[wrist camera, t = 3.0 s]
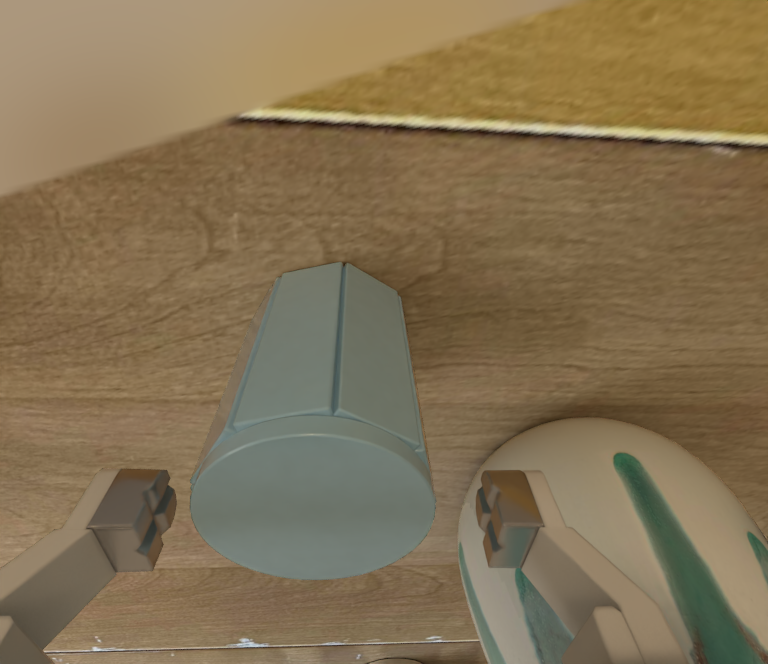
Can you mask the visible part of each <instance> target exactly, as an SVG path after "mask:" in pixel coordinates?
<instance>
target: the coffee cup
mask: <svg viewBox="0 0 768 664" xmlns="http://www.w3.org/2000/svg"><path fill="white" fill-rule="evenodd" d="M368 664H422V663H420V662H418V661H414V660H409V659H384V660H378V661H374V662H371V663H368Z"/></svg>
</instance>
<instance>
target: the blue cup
mask: <svg viewBox="0 0 768 664" xmlns="http://www.w3.org/2000/svg"><path fill="white" fill-rule="evenodd" d="M190 483H191V484H192V485H191V491H192V493H191V496H190V512H191V517H192V521H193V523H194V525H195V528H196V530H197V531H198V533H199V534H200V536H201V537H202V538H203V539H204V540H205V541H206V543H207V544H208V545H209V546H210V547H212V548H213V549H214V550H215V551H216V552H218V553H219V554H221V555H222V556H224V557H225V558H227V559H229V560H231V561H233V562H234V563H236V564H238V565H241V566H243V567H246V568H248V569H251V570H254V571H257V572H260V573H263V574H268V575H272V576H276V577H283V578H289V579H300V580H331V579H340V578H347V577H352V576H358V575H361V574H365V573H369V572H372V571H375V570H378V569H381V568H383V567H386V566H388V565H390V564H392V563H394V562H396V561H398V560H399V559H401V558H403V557H404V556H406V555H407V554H409V553H410V552H411V551H413V550H414V549H415V548H416V547H417V546H418V545H419V544H420V543H421V542H422V541H423V539H424V538H425V537H426V536H427V534H428V532H429V530H430V528H431V526H432V523H433V520H434V517H435V509H436V505H435V504H436V496H435V490H434V484H433V478H432V472H431V466H430V460H429V454H428V448H427V442H426V436H425V430H424V424H423V418H422V412H421V406H420V400H419V394H418V388H417V382H416V376H415V370H414V364H413V358H412V352H411V346H410V340H409V335H408V330H407V325H406V320H405V315H404V310H403V305H402V300H401V297H400V296H398V293H397V291H396V290H394V289H392V288H391V287H389V286H387V285H385V284H384V283H382V282H380V281H378V280H377V279H375V278H373V277H372V276H370V275H368V274H366V273H365V272H363V271H361V270H360V269H358V268H356V267H354V266H353V265H351V264H349V263H346V265H345V266H344V268H343V264H342V262H337V263H332V264H327V265H322V266H317V267H312V268H307V269H302V270H297V271H292V272H287V273H283V274H282V277H281V278H280V277H277V278H276V280H275V281H274V283H273V285H272V287H271V288H270V290H269V292H268V293H267V295H266V297H265V298H264V300H263V302H262V303H261V305H260V307H259V308H258V310H257V312H256V313H255V315H254V317H253V319H252V321H251V324H250V326H249V329H248V331H247V334H246V337H245V339H244V342H243V344H242V347H241V349H240V352H239V355H238V357H237V360H236V362H235V365H234V368H233V370H232V373H231V375H230V378H229V381H228V383H227V386H226V388H225V391H224V394H223V396H222V399H221V401H220V404H219V407H218V409H217V412H216V414H215V417H214V420H213V422H212V425H211V427H210V430H209V433H208V435H207V438H206V440H205V443H204V446H203V448H202V451H201V453H200V456H199V459H198V461H197V464H196V466H195V469H194V472H193V474H192V477H191V479H190Z"/></svg>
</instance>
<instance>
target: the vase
mask: <svg viewBox="0 0 768 664" xmlns="http://www.w3.org/2000/svg"><path fill="white" fill-rule="evenodd" d="M485 470H521V471H524V470H539V471H542V472H543V473H544V475H545V477H546V480H547V482H548V484H549V487H550V489H551V492H552V494H553V496H554V499H555V501H556V503H557V506H558V508H559V510H560V513H561V515H562V517H563V520H564V522H565V524H566V527H572V528H574V529H575V530H576V531H577V532H578V533H579V534H580V535H581V536H583V537H584V538H585V539H586V540H587V541H588V542H589V543H590V544H592V545H593V546H594V547H595V548H596V549H597V550H598V551H599V552H600V553H602V554H603V555H604V556H605V557H606V558H607V559H608V560H609V561H611V562H612V563H613V564H614V565H615V566H616V567H617V568H618V569H620V570H621V571H622V572H623V573H624V574H625V575H626V576H627V577H628V578H630V579H631V580H632V581H633V582H634V583H635V584H636V585H637V586H639V587H640V588H641V589H642V590H643V591H644V592H645V593H646V594H648V595H649V596H650V597H651V598H652V599H653V600H654V601H655V602H656V603H658V604H659V606H660V608H661V610H662V612H663V614H664V616H665V618H666V620H667V622H668V624H669V625H670V627H671V629H672V631H673V633H674V635H675V637H676V639H677V641H678V643H679V645H680V647H681V648H682V650H683V652H684V654H685V656H686V658H687V660H688V662H689V664H768V541H767V540H766V538H765V537H764V535H763V533H762V532H761V530H760V529H759V527H758V526H757V524H756V523H755V521H754V520H753V518H752V517H751V516H750V514H749V513H748V511H747V510H746V508H745V507H744V505H743V504H742V502H741V501H740V500H739V499H738V498H737V496H736V495H735V494H734V493H733V492H732V490H731V489H730V488H729V487H728V486H727V485H726V484H725V482H724V481H723V480H722V479H721V478H720V477H719V476H718V475H716V474H715V473H714V472H713V471H712V470H711V469H710V468H709V467H708V466H707V465H706V464H705V463H703V462H702V461H701V460H700V459H698V458H697V457H696V456H695V455H693V454H692V453H691V452H689V451H688V450H687V449H685V448H683V447H682V446H680V445H679V444H677V443H675V442H674V441H672V440H670V439H669V438H667V437H665V436H663V435H660V434H658V433H656V432H653V431H651V430H649V429H646V428H644V427H641V426H638V425H634V424H631V423H628V422H624V421H621V420H615V419H609V418H598V417H576V418H567V419H562V420H557V421H553V422H549V423H545V424H542V425H539V426H536V427H534V428H531V429H529V430H527V431H525V432H523V433H521V434H519V435H517V436H515V437H513V438H512V439H510V440H509V441H507V442H506V443H504V444H503V445H502V446H500V447H499V448H498V449H497V450H496V451H495V452H493V453H492V455H491V456H490V457H489V458H488V459H487V460H486V461H485V462H484V463H483V465H482V466H481V467H480V469H479V470H478V472H477V473H476V475H475V477H474V479H473V481H472V482H471V484H470V486H469V489H468V491H467V494H466V496H465V499H464V502H463V505H462V509H461V514H460V520H459V527H458V557H459V567H460V573H461V579H462V584H463V588H464V592H465V595H466V599H467V602H468V606H469V610H470V613H471V616H472V619H473V622H474V625H475V628H476V631H477V634H478V637H479V640H480V643H481V646H482V649H483V651H484V654H485V657H486V659H487V662H488V664H563V663H562V660H561V658H562V656H563V654H564V653H565V651H566V650H567V648H568V647H569V645H570V644H571V642H572V641H573V639H574V638H575V637H574V635H573V634H572V633H571V632H570V630H569V629H568V628H567V627H566V625H565V624H564V623H563V622H562V620H561V619H560V618H559V617H558V615H557V614H556V613H555V612H554V610H553V609H552V608H551V607H550V605H549V604H548V603H547V602H546V600H545V599H544V598H543V597H542V596H541V594H540V593H539V592H538V591H537V589H536V588H535V587H534V586H533V584H532V583H531V582H530V581H529V579H528V578H527V577H526V576H525V574H524V573H523V572H522V571H521V569H522V568H489V567H488V563H487V559H486V555H485V550H484V546H483V539H484V536H485V532H484V531H483V530H482V529H481V528H480V527H479V525H478V521H477V516H476V495H477V490H478V489H480V488H481V487H482V483H481V476H482V473H483V472H484V471H485Z"/></svg>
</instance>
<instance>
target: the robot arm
mask: <svg viewBox="0 0 768 664" xmlns="http://www.w3.org/2000/svg"><path fill="white" fill-rule="evenodd" d="M169 480H170V476H169V474H168V471H167V470H153V469H113V468H102V469H101V470H100V471H99V472H97V473H96V474H95V476H94V477H93V479H92V481H91V482H90V484H89V485H88V487H87V489H86V490H85V492H84V493H83V495H82V497H81V498H80V500H79V501H78V503H77V505H76V506H75V508H74V509H73V511H72V513H71V514H70V516H69V517H68V519H67V520H66V522H65V524H64V525H63V527H62V528H61V529H54V530H53V531H52V532H50V533H49V534H47V535H46V536H45V537H43V538H42V539H40V540H39V541H38V542H36V543H35V544H34V545H32V546H31V547H29V548H28V549H27V550H25V551H24V552H22V553H21V554H20V555H18V556H17V557H15V558H14V559H13V560H11V561H10V562H9V563H7V564H6V565H4V566H3V567H2V568H0V664H54V662H53V661H52V660H51V659H50V658H49V657H48V656H47V655H46V654H45V653H44V652H43V651H42V650H43V649H44V648H45V647H46V646H47V645H48V644H49V643H50V642H51V641H52V640H53V639H54V638H55V637H56V636H57V635H58V634H59V633H60V632H61V631H62V630H63V629H64V627H65V626H66V625H67V624H68V623H69V622H70V621H71V620H72V619H73V618H74V617H75V616H76V615H77V614H78V613H79V612H80V611H81V610H82V609H83V608H84V607H85V606H86V605H87V604H88V603H89V602H90V601H91V600H92V599H93V598H94V597H95V596H96V595H97V594H98V593H99V592H100V591H101V590H102V589H103V588H104V587H105V586H106V585H107V584H108V583H109V582H110V581H111V580H112V579H113V578H114V577H115V576H116V572H140V571H153V569H154V567H155V564H156V562H157V559H158V557H159V554H160V552H161V550H162V547H163V545H164V544H163V541H162V538H161V535H162V534H163V533H164V532H166V531H167V530H168V529H169V528H170V527H171V524H172V522H173V519H174V516H175V511H176V505H177V500H176V494H175V490H174V489H173V488H171V487H170V486H169V485H168V483H169ZM481 483H482V487H481V488H480V489H478V490H477V495H476V516H477V521H478V525H479V527H480V528H481V529H482V530H483V531H484V532H485V536H484V539H483V546H484V550H485V555H486V559H487V563H488V567H489V568H522V569H521V571H522V572H523V573H524V574H525V576H526V577H527V578H528V579H529V581H530V582H531V583H532V584H533V586H534V587H535V588H536V589H537V591H538V592H539V593H540V594H541V596H542V597H543V598H544V599H545V600H546V602H547V603H548V604H549V605H550V607H551V608H552V609H553V610H554V612H555V613H556V614H557V615H558V617H559V618H560V619H561V620H562V622H563V623H564V624H565V625H566V627H567V628H568V629H569V630H570V632H571V633H572V634H573V635H574V637H575V638H574V639H573V641H572V642H571V644H570V645H569V647H568V648H567V650H566V651H565V653H564V654H563V656H562V658H561V660H562V663H563V664H689V662H688V660H687V658H686V656H685V654H684V652H683V650H682V648H681V647H680V645H679V643H678V641H677V639H676V637H675V635H674V633H673V631H672V629H671V627H670V625H669V624H668V622H667V620H666V618H665V616H664V614H663V612H662V610H661V608H660V606H659V604H658V603H656V602H655V601H654V600H653V599H652V598H651V597H650V596H649V595H648V594H646V593H645V592H644V591H643V590H642V589H641V588H640V587H639V586H637V585H636V584H635V583H634V582H633V581H632V580H631V579H630V578H628V577H627V576H626V575H625V574H624V573H623V572H622V571H621V570H620V569H618V568H617V567H616V566H615V565H614V564H613V563H612V562H611V561H609V560H608V559H607V558H606V557H605V556H604V555H603V554H602V553H600V552H599V551H598V550H597V549H596V548H595V547H594V546H593V545H592V544H590V543H589V542H588V541H587V540H586V539H585V538H584V537H583V536H581V535H580V534H579V533H578V532H577V531H576V530H575V529H574V528H572V527H566V524H565V522H564V520H563V517H562V515H561V513H560V510H559V508H558V506H557V503H556V501H555V499H554V496H553V494H552V492H551V489H550V487H549V484H548V482H547V480H546V477H545V475H544V473H543V472H542V471H539V470H524V471H521V470H485V471H484V472H483V473H482V476H481Z"/></svg>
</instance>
